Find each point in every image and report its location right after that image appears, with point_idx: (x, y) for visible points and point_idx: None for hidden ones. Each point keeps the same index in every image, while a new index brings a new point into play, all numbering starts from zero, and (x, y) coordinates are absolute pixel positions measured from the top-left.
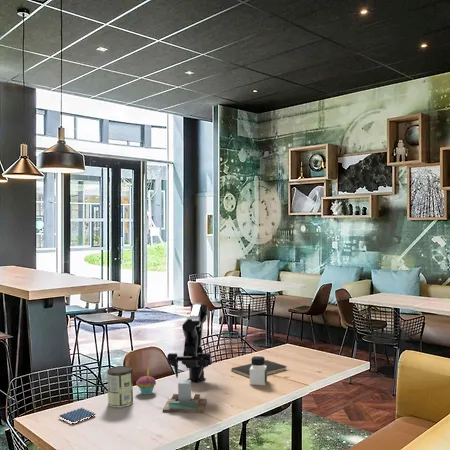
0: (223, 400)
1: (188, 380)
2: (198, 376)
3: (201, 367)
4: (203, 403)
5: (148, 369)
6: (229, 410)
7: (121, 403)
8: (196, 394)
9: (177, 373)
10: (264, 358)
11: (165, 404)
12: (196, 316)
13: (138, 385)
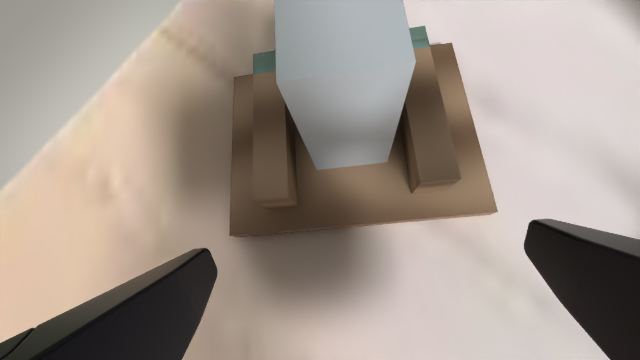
0: (140, 265)
1: (301, 61)
2: (199, 250)
3: (6, 343)
4: (241, 158)
5: None
6: (122, 128)
7: None
8: (277, 190)
9: (575, 251)
10: None
11: (469, 110)
12: None
13: None
